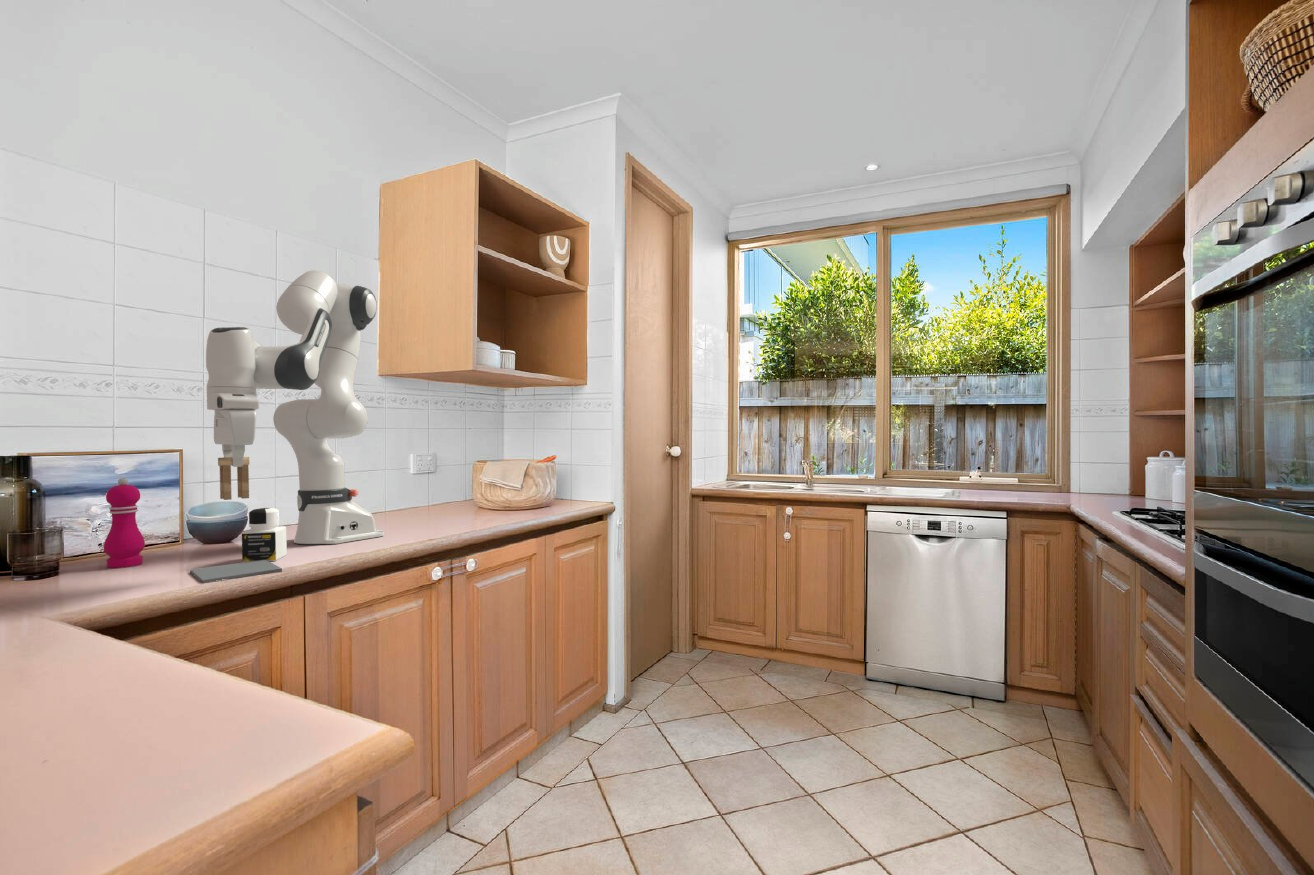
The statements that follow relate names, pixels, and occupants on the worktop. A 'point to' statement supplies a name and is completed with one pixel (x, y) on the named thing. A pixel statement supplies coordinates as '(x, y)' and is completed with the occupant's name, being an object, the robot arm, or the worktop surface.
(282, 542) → the medicine bottle
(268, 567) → the mat
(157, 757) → the worktop surface
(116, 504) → the pepper mill
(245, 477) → the stool
